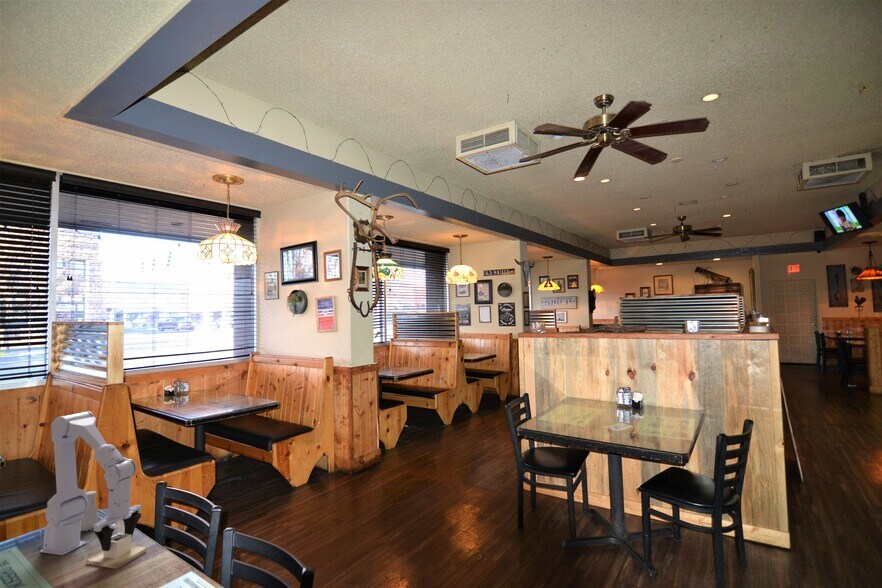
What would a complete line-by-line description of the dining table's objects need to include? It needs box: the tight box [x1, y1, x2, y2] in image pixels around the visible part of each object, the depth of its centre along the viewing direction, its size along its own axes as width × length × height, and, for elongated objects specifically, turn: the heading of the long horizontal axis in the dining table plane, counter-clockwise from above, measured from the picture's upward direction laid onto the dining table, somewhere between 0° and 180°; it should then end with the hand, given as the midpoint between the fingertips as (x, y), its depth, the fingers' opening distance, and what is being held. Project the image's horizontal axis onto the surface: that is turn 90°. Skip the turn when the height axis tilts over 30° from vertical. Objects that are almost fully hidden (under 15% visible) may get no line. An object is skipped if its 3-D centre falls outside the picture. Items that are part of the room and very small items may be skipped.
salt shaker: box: [81, 490, 99, 532], centre depth 157 cm, size 6×6×13 cm
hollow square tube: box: [103, 532, 132, 559], centre depth 138 cm, size 5×5×5 cm
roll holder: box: [85, 536, 148, 570], centre depth 138 cm, size 12×10×6 cm
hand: (117, 544), depth 138 cm, fingers open, 7 cm apart
